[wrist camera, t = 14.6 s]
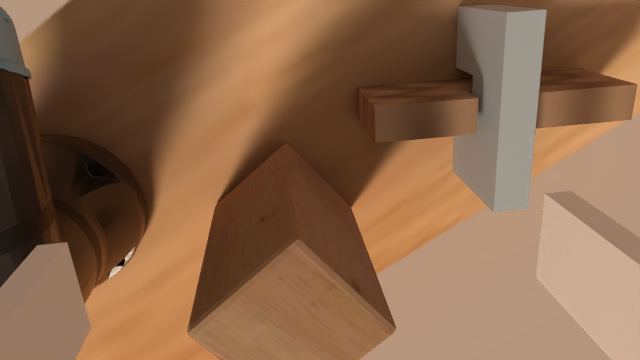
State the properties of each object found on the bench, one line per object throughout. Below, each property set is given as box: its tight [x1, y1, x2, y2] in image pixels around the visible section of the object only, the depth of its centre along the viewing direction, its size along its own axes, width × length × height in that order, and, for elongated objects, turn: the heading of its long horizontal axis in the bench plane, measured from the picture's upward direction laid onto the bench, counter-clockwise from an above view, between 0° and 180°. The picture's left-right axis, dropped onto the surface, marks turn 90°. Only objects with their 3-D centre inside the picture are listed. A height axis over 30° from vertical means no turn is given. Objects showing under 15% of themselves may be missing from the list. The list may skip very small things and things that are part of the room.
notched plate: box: [453, 4, 547, 212], centre depth 44 cm, size 3×16×10 cm, turn 4°
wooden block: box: [187, 144, 396, 360], centre depth 42 cm, size 10×10×20 cm
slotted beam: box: [358, 69, 637, 143], centre depth 45 cm, size 22×3×8 cm, turn 94°
